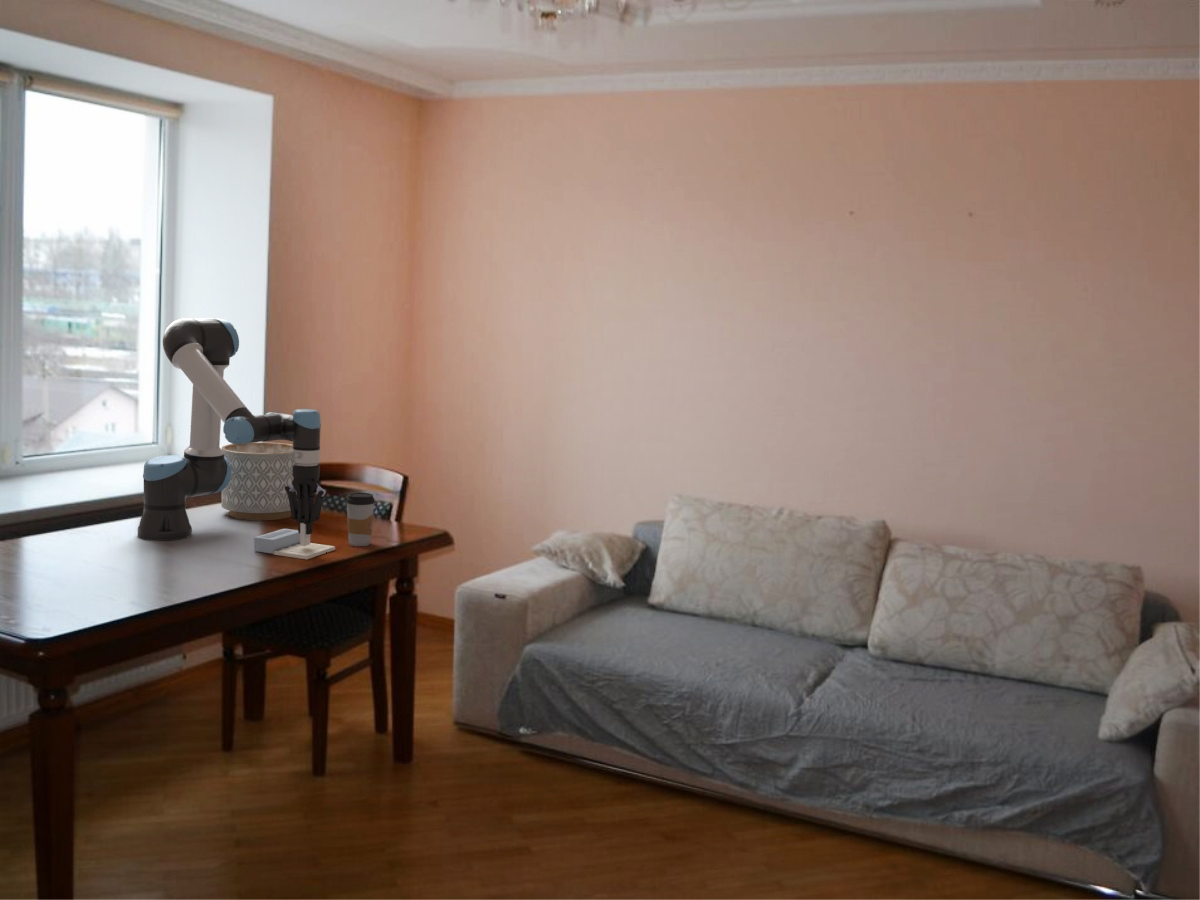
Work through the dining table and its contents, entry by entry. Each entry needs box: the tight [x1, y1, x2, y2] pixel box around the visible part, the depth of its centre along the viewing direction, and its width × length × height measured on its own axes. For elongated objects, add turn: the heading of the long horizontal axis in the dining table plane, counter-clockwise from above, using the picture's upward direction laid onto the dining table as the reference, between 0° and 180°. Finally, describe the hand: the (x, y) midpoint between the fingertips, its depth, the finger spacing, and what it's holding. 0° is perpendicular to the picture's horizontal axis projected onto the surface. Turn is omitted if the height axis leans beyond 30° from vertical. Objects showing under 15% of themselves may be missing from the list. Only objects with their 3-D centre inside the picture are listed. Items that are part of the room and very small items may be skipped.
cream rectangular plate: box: [273, 542, 336, 560], centre depth 328 cm, size 11×14×1 cm
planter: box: [221, 441, 298, 521], centre depth 375 cm, size 26×26×22 cm
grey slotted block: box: [253, 528, 300, 555], centre depth 330 cm, size 6×14×4 cm, turn 160°
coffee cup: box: [345, 492, 376, 547], centre depth 340 cm, size 8×8×15 cm
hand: (305, 544), depth 327 cm, fingers closed
